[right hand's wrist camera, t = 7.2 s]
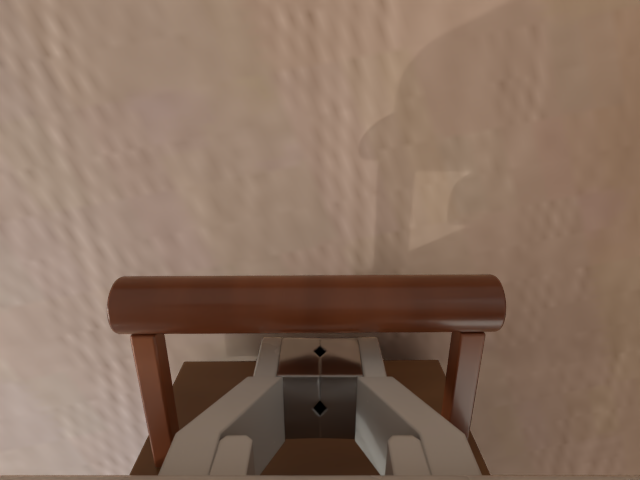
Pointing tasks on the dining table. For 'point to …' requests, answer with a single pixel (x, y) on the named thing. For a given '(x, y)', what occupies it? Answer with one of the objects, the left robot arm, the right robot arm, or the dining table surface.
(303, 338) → the right robot arm
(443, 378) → the drawer
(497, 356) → the dining table surface
